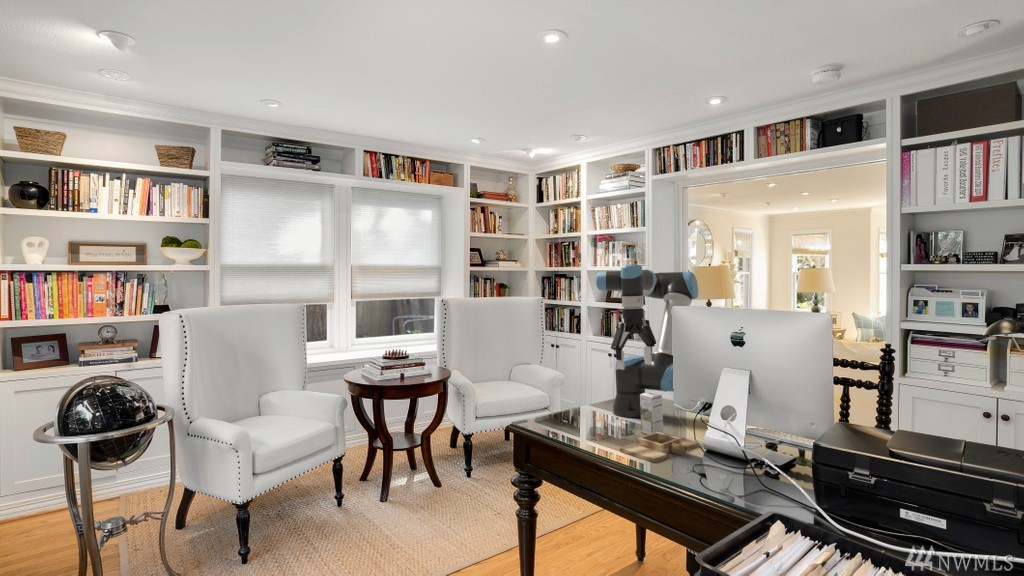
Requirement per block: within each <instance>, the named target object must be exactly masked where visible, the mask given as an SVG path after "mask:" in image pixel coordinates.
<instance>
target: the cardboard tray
mask: <svg viewBox="0 0 1024 576" xmlns="http://www.w3.org/2000/svg"><path fill="white" fill-rule="evenodd" d="M635 442H636V443H637V444H636V443H631V444H628V445H624V446H621V447H619V452H620V451H621V453H623V452H624V453H623V454H626V453H627V454H626V455H629V454H630V456H632V455H633V456H632V457H635V456H636V458H638V457H639V458H638V459H641V458H642V459H641V460H644V459H645V460H644V461H647V460H648V461H647V462H650V461H651V463H653V462H655V463H656V462H660V461H663V460H666V459H667V458H668V455H670V454H674V455H678V456H681V457H682V456H683V455H685V452H686V451H689V450H692V449H694V448H698V447H699V446H700V442H699V441H696V440H691V439H687V438H683V437H681V436H677V435H672V434H670V433H666V432H664V433H660V432H655V433H652V434H648V435H646V434H643V433H642V432H641V433H637V434H636V435H635Z"/></svg>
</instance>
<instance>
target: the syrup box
mask: <svg viewBox="0 0 1024 576" xmlns="http://www.w3.org/2000/svg"><path fill="white" fill-rule="evenodd" d="M640 408H641V417H640V426H641V427H640V429H641V434H644V435H648V434H652V433H655V432H660V433H665V432H664V417H663V416H664V413H663V412H664V411H663V395H662V394H661V393H656V392H652V391H647V392H646V391H645V393H642V394H640Z"/></svg>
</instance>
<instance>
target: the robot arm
mask: <svg viewBox="0 0 1024 576" xmlns="http://www.w3.org/2000/svg"><path fill="white" fill-rule="evenodd" d="M698 284H699V283H698V280H697V277H696V274H694V272H692V271H677V272H676V271H673V272H672V271H671V272H669V271H668V272H654V271H652V270H649V269H647V268H646V269H643V266H642V264H624V265H622V266H621V268H620V270H610V271H609V270H605V271H599V272H598V273H597V274H596V277H595V285H596V287H597V289H598V290H599V291H605V292H607V291H609V292H611V291H613V292H614V291H615V292H621V307H622V308H623V309H622V310H621V311H622V312H621V313H622V319H623V322H617V323H616V330H615V334H614V337H613V339H612V341H611V342H612V343H611V346H610V349H611V350H613V351H615V359H616V361H615V364H614V365H615V369H614V371H615V372H614V373H615V387H616V389H615V390H616V391H615V393H616V394H615V399H614V402H613V405H612V414H613V415H616V416H619V417H623V418H641V408H640V394H642V393H646V390H650V391H660V392H665V393H666V392H672V393H673V392H675V391H674V389H673V355H672V314H671V309H672V307H673V306H688V307H690V306H691V304H692V299H693V300H695V299H697V298H698V297H699V285H698ZM644 297H647V298H653V299H660V300H663V302H664V303H665V305H664V311H663V314H662V315H663V316H662V320H661V324H660V325H661V326H660V330H659V334H658V339H657V340H656V338H655V335H654V332H653V331H652V327H651V324H650V320H649V319H644V317H645V310H644V308H643V307H644ZM635 334H638V336H639V337H640V339H641V340H642V342H643V344H644V345H645V346H643V347H644V349H643V351H644V352H643V354H644V356H643V355H631V356H625V351H624V350H623V349H624V347H625V345H626V344H627V342H628V340H629V338H630V337H631V336H632V335H635ZM656 345H657V346H656ZM655 346H656V350H655V352H653V347H655Z"/></svg>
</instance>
